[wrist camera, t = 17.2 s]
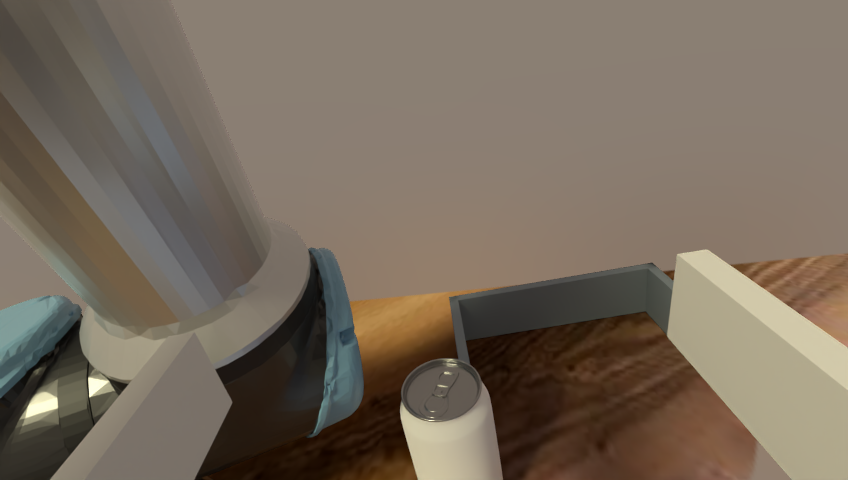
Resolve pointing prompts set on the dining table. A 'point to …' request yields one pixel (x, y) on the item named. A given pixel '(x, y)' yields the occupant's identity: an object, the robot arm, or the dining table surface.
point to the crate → (561, 303)
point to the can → (449, 422)
